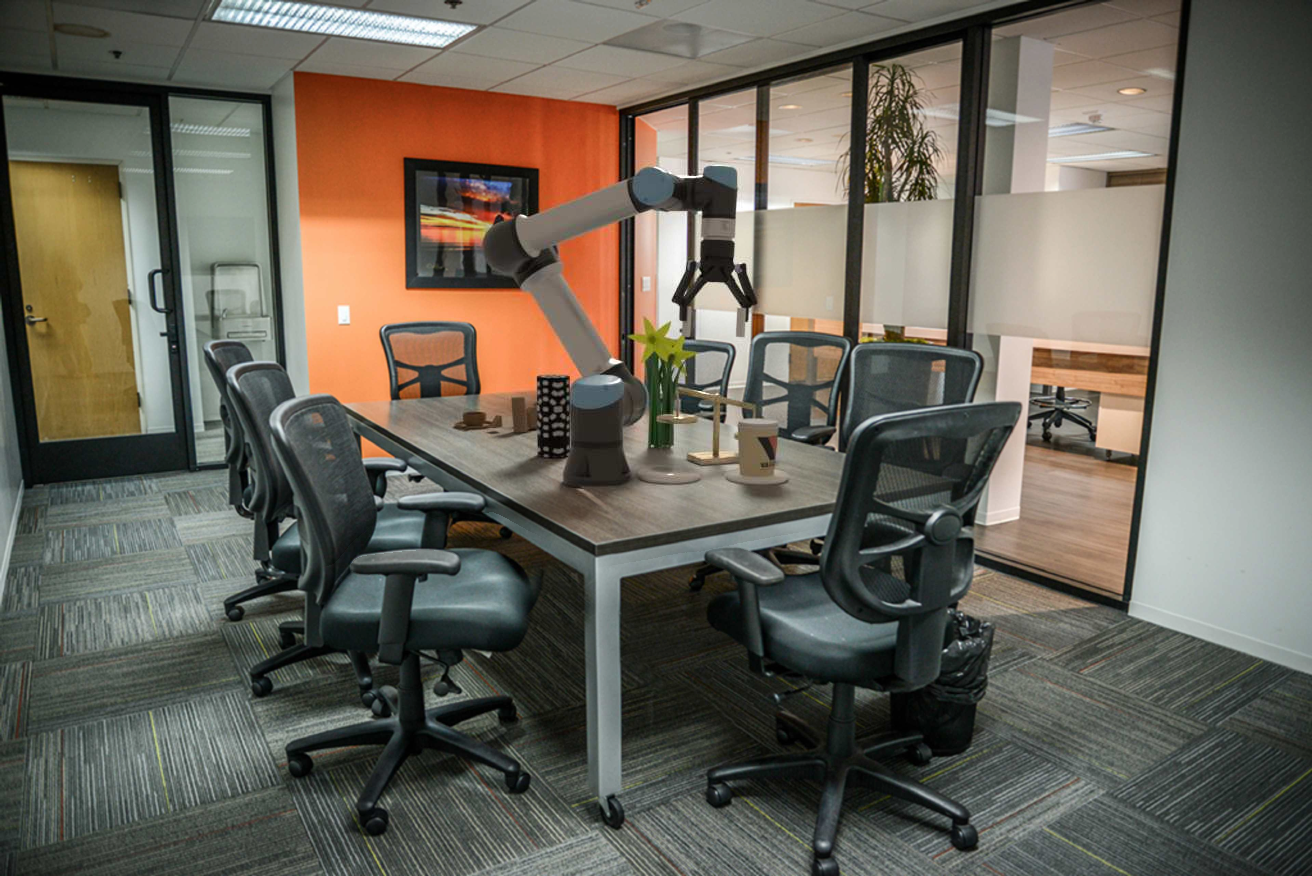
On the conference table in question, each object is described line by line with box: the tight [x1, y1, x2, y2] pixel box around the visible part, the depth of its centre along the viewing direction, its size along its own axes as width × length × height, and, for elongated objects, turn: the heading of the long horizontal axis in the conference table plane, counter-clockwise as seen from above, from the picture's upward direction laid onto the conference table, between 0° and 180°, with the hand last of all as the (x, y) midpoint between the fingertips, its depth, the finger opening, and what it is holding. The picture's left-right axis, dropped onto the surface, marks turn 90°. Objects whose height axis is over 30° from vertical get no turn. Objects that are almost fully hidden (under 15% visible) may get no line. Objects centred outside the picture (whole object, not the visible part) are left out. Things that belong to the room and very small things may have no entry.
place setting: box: [454, 411, 492, 432], centre depth 269 cm, size 18×20×6 cm
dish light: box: [638, 466, 701, 485], centre depth 202 cm, size 14×14×1 cm
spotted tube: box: [536, 374, 571, 458], centre depth 226 cm, size 8×8×20 cm
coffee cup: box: [736, 417, 780, 477], centre depth 201 cm, size 9×9×12 cm
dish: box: [725, 467, 789, 486], centre depth 202 cm, size 14×14×1 cm
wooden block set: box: [487, 396, 537, 434], centre depth 264 cm, size 18×9×10 cm, turn 131°
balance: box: [657, 386, 757, 466], centre depth 221 cm, size 31×10×19 cm, turn 114°
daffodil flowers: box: [627, 316, 699, 449], centre depth 236 cm, size 17×15×35 cm
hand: (713, 337), depth 199 cm, fingers open, 13 cm apart
